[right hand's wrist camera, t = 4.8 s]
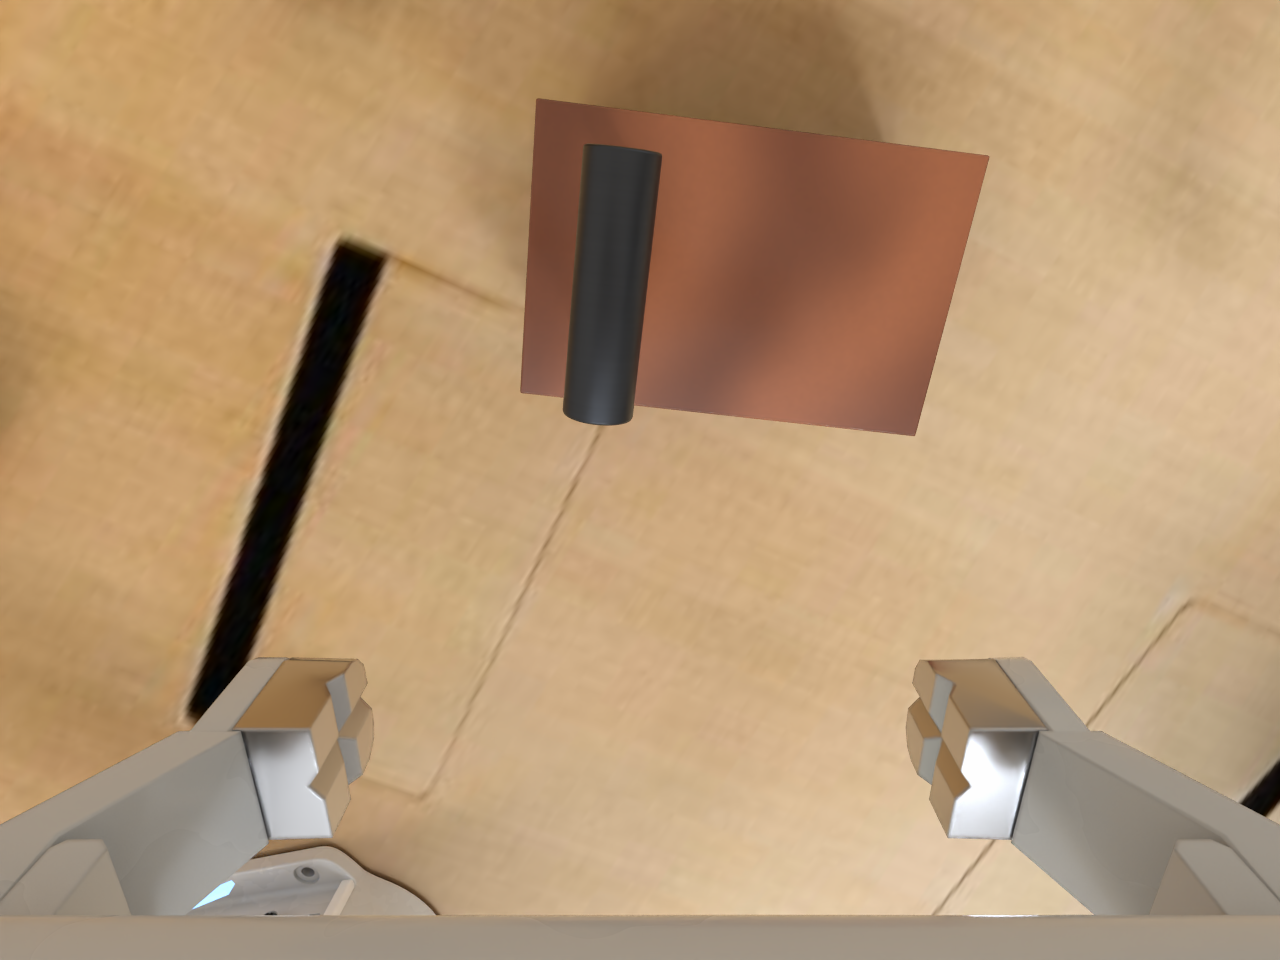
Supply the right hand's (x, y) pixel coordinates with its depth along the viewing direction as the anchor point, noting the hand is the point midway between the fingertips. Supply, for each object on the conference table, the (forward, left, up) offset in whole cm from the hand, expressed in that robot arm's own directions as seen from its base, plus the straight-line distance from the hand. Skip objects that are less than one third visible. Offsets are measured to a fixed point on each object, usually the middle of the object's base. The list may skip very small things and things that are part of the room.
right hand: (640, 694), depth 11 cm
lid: (+4, +4, -19) cm, 19 cm away
